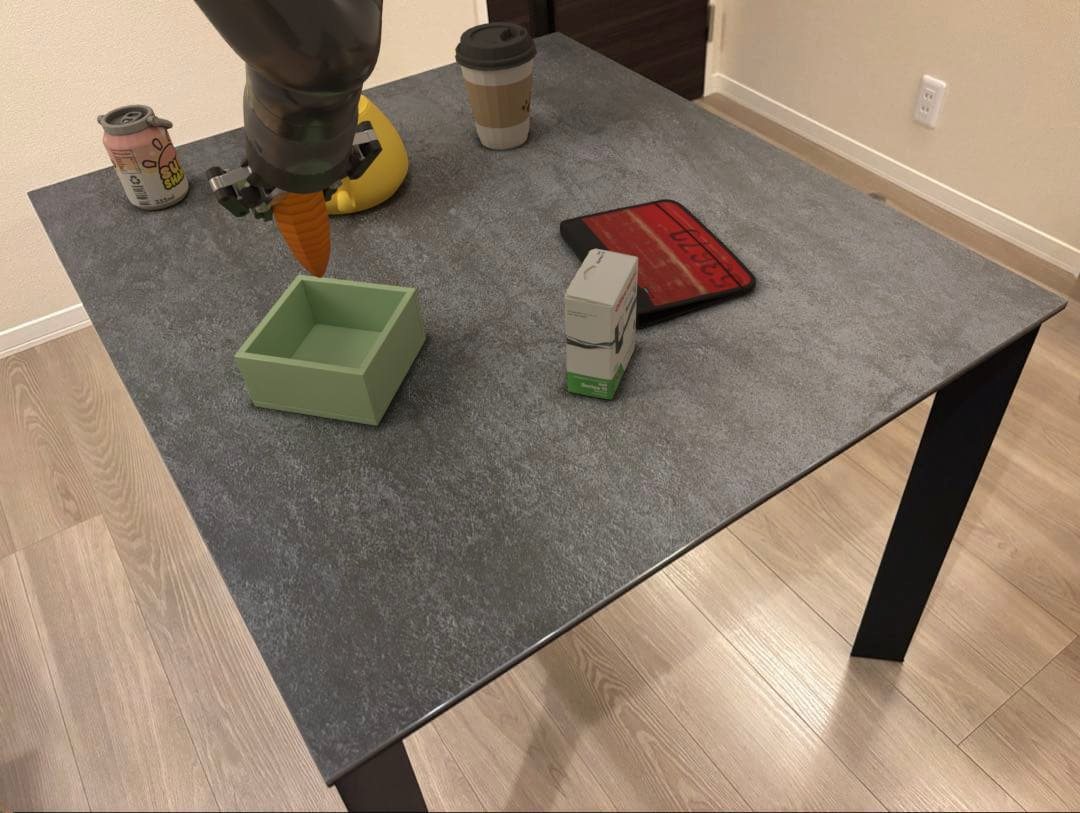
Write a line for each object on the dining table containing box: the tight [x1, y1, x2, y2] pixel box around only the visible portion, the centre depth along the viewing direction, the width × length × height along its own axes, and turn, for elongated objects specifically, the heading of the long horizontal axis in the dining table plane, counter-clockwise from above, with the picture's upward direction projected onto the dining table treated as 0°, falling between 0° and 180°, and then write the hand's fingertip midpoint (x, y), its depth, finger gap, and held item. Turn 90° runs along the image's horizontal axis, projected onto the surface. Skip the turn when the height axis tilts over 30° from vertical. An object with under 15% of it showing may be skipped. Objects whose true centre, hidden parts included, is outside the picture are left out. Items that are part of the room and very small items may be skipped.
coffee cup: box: [454, 21, 538, 151], centre depth 117 cm, size 11×11×15 cm
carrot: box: [272, 190, 332, 278], centre depth 72 cm, size 5×5×15 cm
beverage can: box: [96, 104, 189, 211], centre depth 112 cm, size 9×8×12 cm
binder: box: [559, 198, 757, 330], centre depth 97 cm, size 16×2×21 cm
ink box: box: [563, 249, 638, 400], centre depth 81 cm, size 9×5×12 cm, turn 159°
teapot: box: [325, 94, 410, 215], centre depth 111 cm, size 25×18×14 cm
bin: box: [233, 274, 427, 427], centre depth 85 cm, size 14×14×7 cm
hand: (292, 201), depth 74 cm, fingers closed on carrot, 5 cm apart
